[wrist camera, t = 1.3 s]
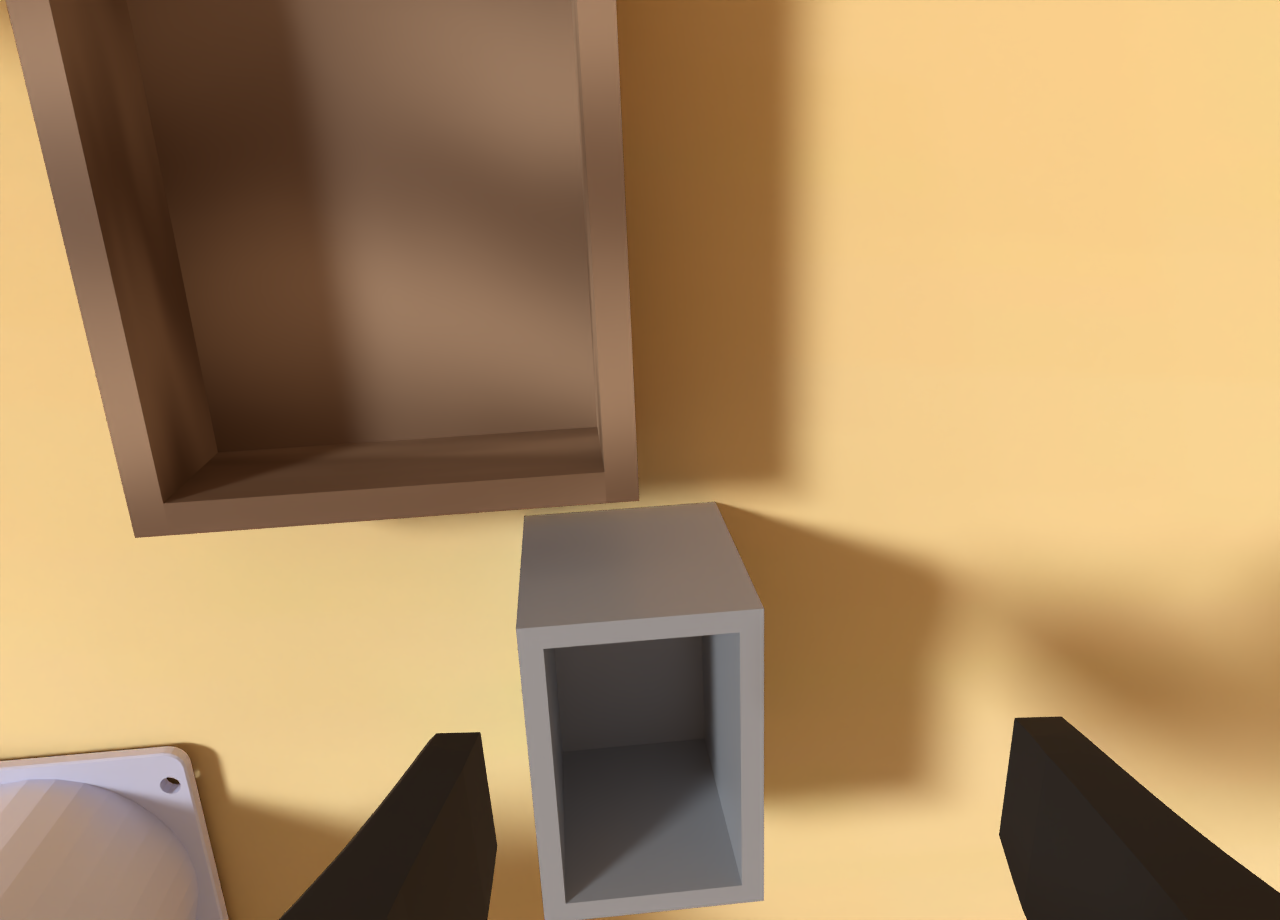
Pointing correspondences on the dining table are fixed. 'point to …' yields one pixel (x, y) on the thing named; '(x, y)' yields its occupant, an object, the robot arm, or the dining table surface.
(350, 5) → the walnut crate
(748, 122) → the dining table surface
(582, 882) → the grey crate
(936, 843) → the dining table surface
